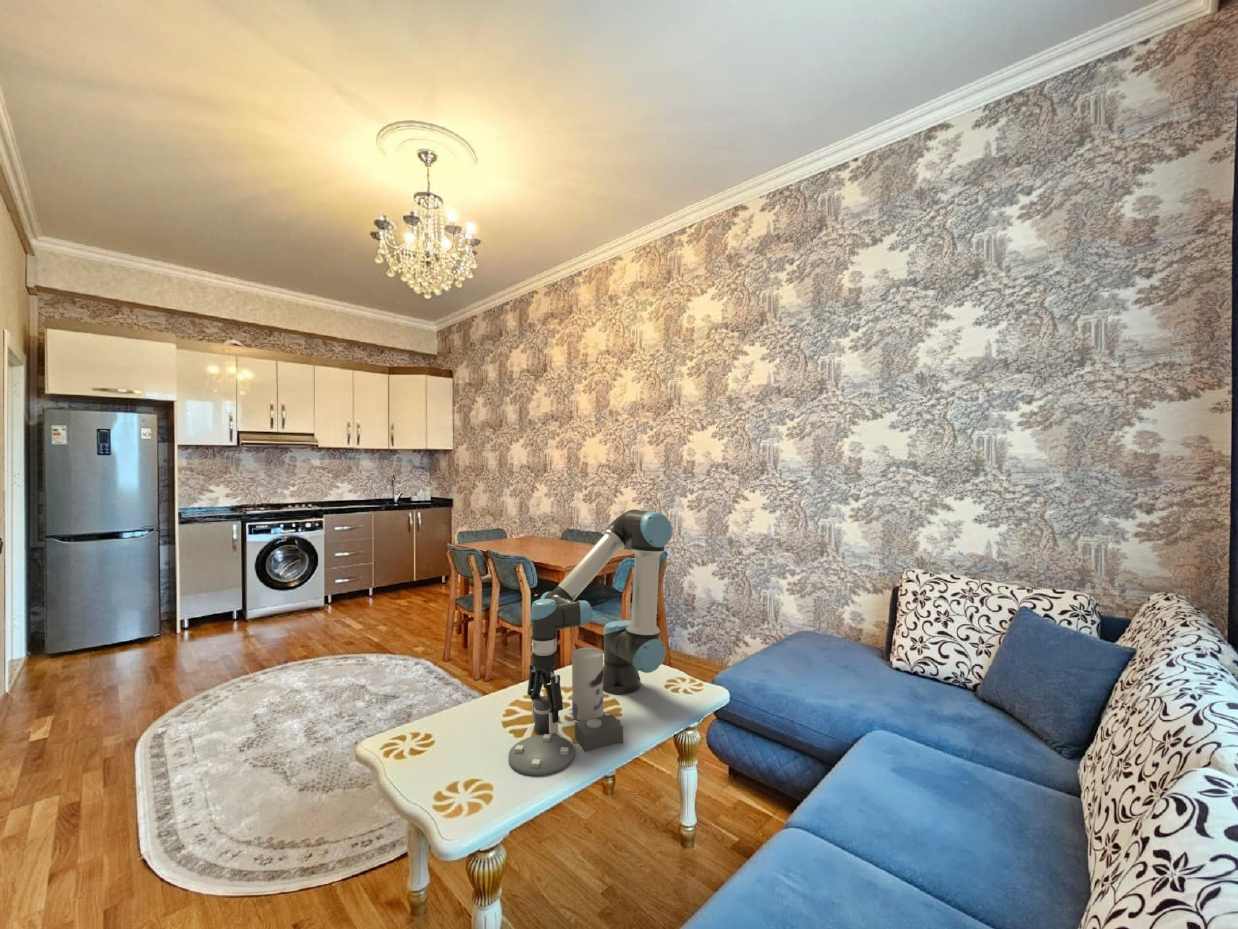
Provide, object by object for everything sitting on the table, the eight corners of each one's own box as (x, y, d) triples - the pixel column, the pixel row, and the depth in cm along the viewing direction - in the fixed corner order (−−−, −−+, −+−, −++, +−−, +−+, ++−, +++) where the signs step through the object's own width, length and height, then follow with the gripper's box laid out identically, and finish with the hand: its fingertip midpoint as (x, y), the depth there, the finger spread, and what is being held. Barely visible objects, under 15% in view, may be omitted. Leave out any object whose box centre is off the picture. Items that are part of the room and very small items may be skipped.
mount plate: (551, 732, 153) (551, 725, 153) (587, 758, 139) (587, 750, 139) (496, 754, 142) (496, 746, 142) (529, 784, 128) (529, 776, 128)
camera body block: (612, 730, 155) (612, 711, 155) (623, 743, 147) (623, 723, 147) (575, 739, 150) (575, 719, 150) (584, 753, 143) (584, 732, 143)
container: (599, 723, 158) (598, 659, 159) (568, 720, 160) (568, 657, 161) (606, 708, 168) (606, 648, 168) (577, 706, 170) (577, 646, 170)
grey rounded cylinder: (546, 723, 159) (546, 694, 159) (556, 730, 154) (556, 700, 155) (530, 729, 155) (530, 699, 155) (540, 736, 151) (540, 706, 151)
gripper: (515, 645, 161) (516, 717, 160) (553, 664, 144) (554, 744, 143) (536, 640, 165) (536, 710, 165) (575, 658, 149) (575, 735, 148)
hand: (544, 726), depth 154 cm, fingers open, 9 cm apart
